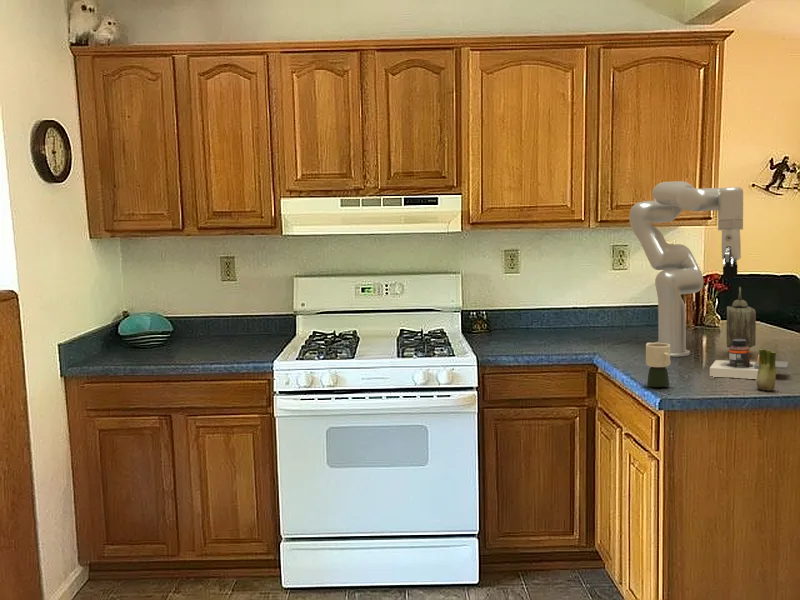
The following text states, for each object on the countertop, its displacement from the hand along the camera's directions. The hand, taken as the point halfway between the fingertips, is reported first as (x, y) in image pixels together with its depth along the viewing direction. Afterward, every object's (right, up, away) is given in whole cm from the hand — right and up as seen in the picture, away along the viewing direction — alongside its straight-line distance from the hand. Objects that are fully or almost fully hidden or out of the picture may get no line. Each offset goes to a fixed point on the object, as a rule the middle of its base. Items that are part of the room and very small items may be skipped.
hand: (730, 277), depth 246 cm
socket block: (0, -31, -7) cm, 32 cm away
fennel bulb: (-3, -34, -29) cm, 45 cm away
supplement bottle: (0, -32, -7) cm, 32 cm away
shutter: (+7, -28, -12) cm, 32 cm away
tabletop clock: (+14, -28, +22) cm, 38 cm away
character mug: (-31, -34, -20) cm, 50 cm away
